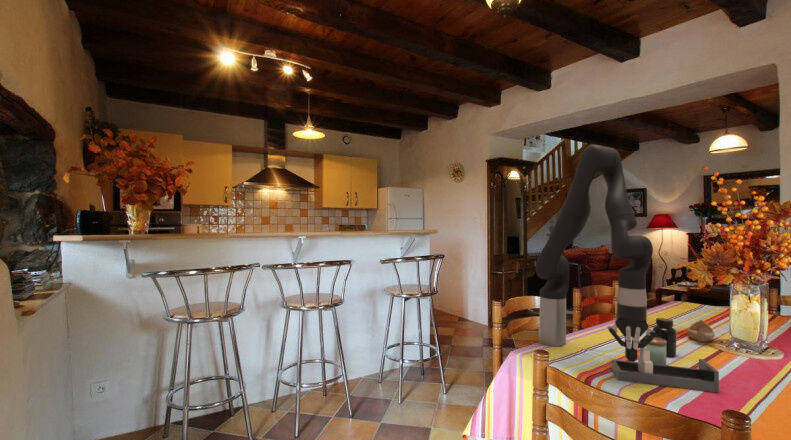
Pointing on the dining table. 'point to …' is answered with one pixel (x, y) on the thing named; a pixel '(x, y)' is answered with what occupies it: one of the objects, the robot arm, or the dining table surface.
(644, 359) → the block
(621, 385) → the dining table surface
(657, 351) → the jar
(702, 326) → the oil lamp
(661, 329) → the supplement bottle
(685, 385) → the tray
